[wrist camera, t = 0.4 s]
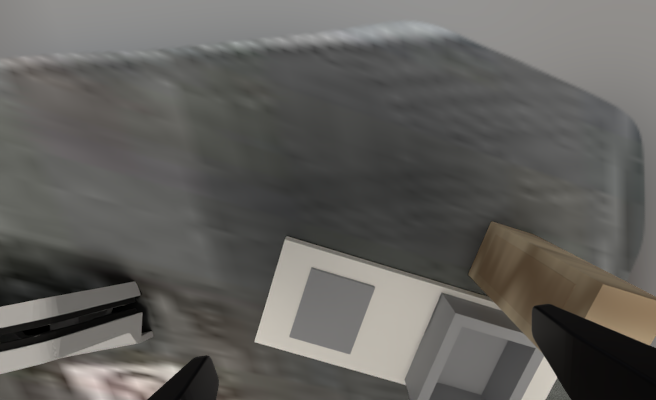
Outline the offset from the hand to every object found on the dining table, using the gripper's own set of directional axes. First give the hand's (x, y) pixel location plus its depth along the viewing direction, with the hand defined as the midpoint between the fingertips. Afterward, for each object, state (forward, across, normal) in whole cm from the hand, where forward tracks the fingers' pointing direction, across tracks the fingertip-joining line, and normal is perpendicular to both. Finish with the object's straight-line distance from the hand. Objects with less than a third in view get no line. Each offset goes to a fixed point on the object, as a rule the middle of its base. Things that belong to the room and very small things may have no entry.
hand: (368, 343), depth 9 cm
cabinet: (+14, -4, +12) cm, 19 cm away
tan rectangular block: (+15, -11, +7) cm, 19 cm away
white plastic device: (+15, +26, +6) cm, 30 cm away
